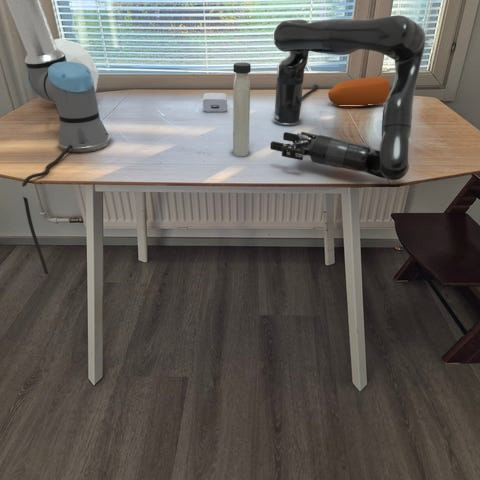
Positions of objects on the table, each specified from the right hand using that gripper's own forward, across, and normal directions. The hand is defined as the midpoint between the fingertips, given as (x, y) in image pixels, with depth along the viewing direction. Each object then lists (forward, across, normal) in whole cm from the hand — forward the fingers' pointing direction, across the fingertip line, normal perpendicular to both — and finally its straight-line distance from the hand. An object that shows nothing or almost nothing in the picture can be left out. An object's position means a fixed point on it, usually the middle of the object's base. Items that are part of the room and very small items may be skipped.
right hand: (277, 140), depth 116 cm
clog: (-4, -69, +7) cm, 69 cm away
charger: (+44, -37, +7) cm, 58 cm away
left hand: (+59, -24, -32) cm, 72 cm away
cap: (+12, 0, -19) cm, 22 cm away
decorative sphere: (+95, -8, +7) cm, 95 cm away
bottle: (+12, 0, +7) cm, 14 cm away
